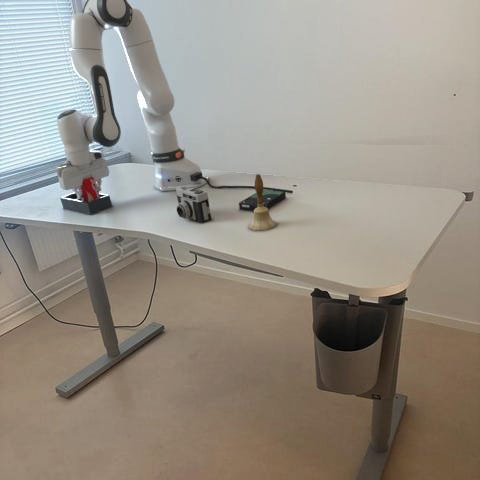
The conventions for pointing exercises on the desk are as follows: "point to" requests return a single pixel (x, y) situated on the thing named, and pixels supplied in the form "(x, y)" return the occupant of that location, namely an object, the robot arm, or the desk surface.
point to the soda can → (89, 189)
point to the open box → (86, 204)
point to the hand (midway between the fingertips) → (89, 194)
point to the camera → (193, 204)
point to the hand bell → (261, 210)
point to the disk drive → (268, 200)
